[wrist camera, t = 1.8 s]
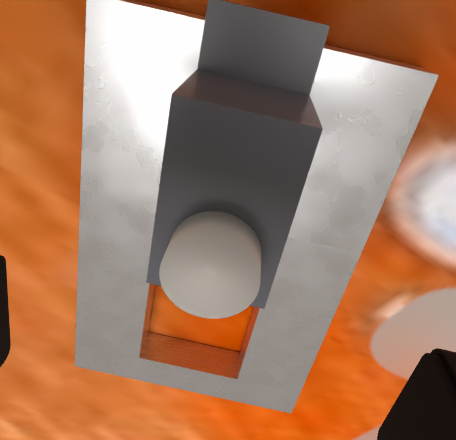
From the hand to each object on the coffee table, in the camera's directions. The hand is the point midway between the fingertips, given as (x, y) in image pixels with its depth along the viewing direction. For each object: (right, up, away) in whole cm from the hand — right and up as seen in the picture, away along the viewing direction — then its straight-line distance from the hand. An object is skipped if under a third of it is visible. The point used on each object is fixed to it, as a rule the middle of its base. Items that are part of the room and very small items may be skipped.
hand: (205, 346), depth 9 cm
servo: (+1, +7, +11) cm, 13 cm away
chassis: (0, +2, +17) cm, 17 cm away
